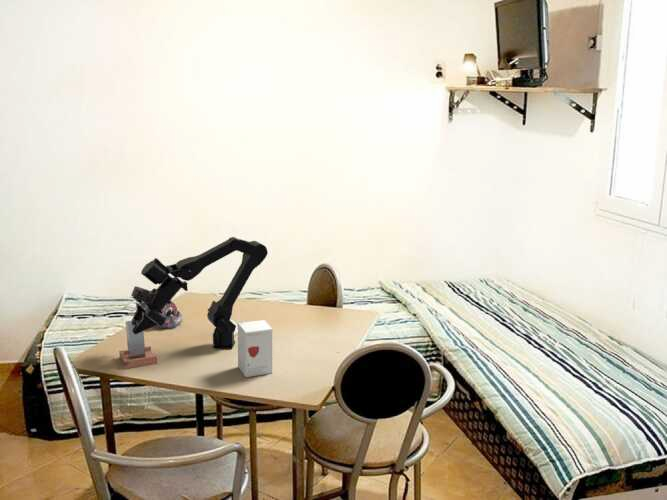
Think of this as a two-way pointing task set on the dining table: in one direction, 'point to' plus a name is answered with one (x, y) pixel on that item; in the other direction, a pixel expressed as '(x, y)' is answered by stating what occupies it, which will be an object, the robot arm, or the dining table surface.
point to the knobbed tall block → (135, 340)
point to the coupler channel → (140, 361)
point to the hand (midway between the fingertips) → (132, 330)
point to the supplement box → (255, 348)
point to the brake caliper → (171, 316)
